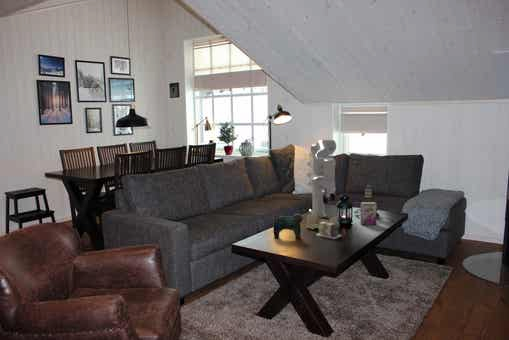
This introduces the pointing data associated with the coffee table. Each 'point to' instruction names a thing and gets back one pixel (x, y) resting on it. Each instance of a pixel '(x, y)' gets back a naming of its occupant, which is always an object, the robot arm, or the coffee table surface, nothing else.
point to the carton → (318, 221)
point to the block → (328, 229)
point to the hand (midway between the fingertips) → (329, 202)
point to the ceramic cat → (288, 224)
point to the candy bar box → (368, 213)
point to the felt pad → (328, 236)
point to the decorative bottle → (367, 197)
